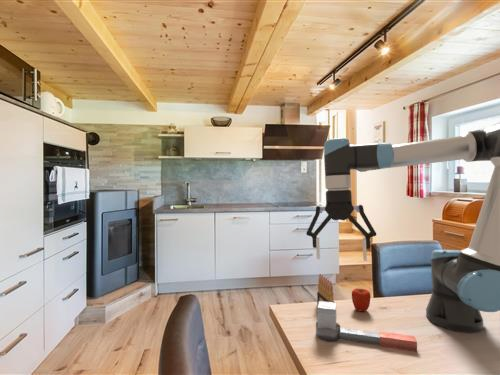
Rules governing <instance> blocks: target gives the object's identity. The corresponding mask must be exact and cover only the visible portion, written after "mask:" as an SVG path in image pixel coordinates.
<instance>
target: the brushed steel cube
mask: <svg viewBox="0 0 500 375" xmlns="http://www.w3.org/2000/svg"><path fill="white" fill-rule="evenodd" d="M317 322H318V328H320V329H327V330H334V331H336V323H337V302H334V303H332V302H323V301H319V304H318V305H317Z"/></svg>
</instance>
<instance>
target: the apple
mask: <svg viewBox="0 0 500 375" xmlns="http://www.w3.org/2000/svg"><path fill="white" fill-rule="evenodd" d="M351 291H352V292H351V300H352V304H353V306H354V309H355V311H356V312H366V311H368V309H369V307H370V304H371V292H370V290H367V289H365V288H354V289H353V290H351Z"/></svg>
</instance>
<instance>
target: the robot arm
mask: <svg viewBox="0 0 500 375" xmlns="http://www.w3.org/2000/svg"><path fill="white" fill-rule="evenodd" d="M323 156H324V157H323V159H324V161H323V162H324V182H325V189H326V192H325V202H326V203H325V206H320V205H317V206H316V207H315V214H314V216H313V218H312V220H311V223H310V225H309V226H308V228H307V230H306V232H305V233H306V234H305V235H306V236H309V237H311V238H312V248H314V249H316V259H317V260H320V258H321V251H320V250H321V249H320V247H321V246H320V236H318V235H319V234H320V233H321V231H322V230H323V229H324V228H325V227H326V226H327V224H328V223H329V222H330V221H331V220H334V221H346V220H348V221H350V223H351V224H352V225H354V227H355V228H356V229H357V230H358V231H359V232H360V233H361V234H362V235H363V236H362V239H361V240H362V257H363V258H362V259H363V261H364V262H365V261H366V262H367V261H368V257H367V256H368V255H367V250H370V249H371V238H373V237H376V236H377V232H376V231H375V229H374V227H373V225H372V224H371V222H370V220H369V219H368V217H367V215H366V213H365V211H364V206H363V205H362V204H359V205H353V200H352V198H353V197H352V190H350V189H351V188H352V176H351V174H352V173H351V170H354V171H355V170H356V171H357V172H360V173H363V172H368V171H376V170H382V169H383V170H385V169H392V168H401V167H408V166H417V165H427V164H435V163H444V162H451V161H452V162H453V161H461V160H462V161H465V162H467V163H469V162H470V163H471V162H482V161H483V162H487V161H490V163H491V164H492V165H493V167H494V169H493V170H492V171H493V172H492V175H491V177H490V181H489V183H488V185H487V186H488V187H487V190H486V193H485V196H484V199H483V202H482V205H481V208H480V211H479V214H478V218H477V220H476V223H475V226H474V229H473V233H472V235H471V239H470V242H469V245H468V247H466V248H463V249H461V250H460V249H434V250H432V252H431V258H430V264H431V266H430V267H431V295H430V298H429V300H428V303H427V305H426V309H425V316H426V318H427V320H429V321H430V322H432V323H433V324H435V325H437V326H438V327H442V328H444V329H448V330H451V331H456V332H461V333H462V332H464V333H476V332H477V333H478V332H481V331H483V330H484V327H485V326H484V318H483V315H482V313H481V312H483V313H497V312H498V311H499V312H500V122H498V123H495V124H492V125H489V126H487V127H483V128H480V129H476V130H473V131H471V130H470V131H465V132H463V133H462V134H461V135H458V136H451V137H445V138H437V139H429V140H422V141H421V140H420V141H414V142H406V143H399V144H393V145H392V143H390V142H375V143H373V142H372V143H363V144H361V143H360V144H351V143H350V140H349V138H346V137H342V138H340V137H339V138H337V137H336V138H331V139H327V140H326V141H325V142H324V146H323ZM354 210H355V211H356V212H357V213H359V215H360V217H361V218H362V221H363V222H364V223H365V225H366V227H367V229H368V231H369V232H367V230H365V228H364V227H363V226H362V225H361V224H360V223H359V222H358V221H357V220H356V219H355V218H354V217H353V215H351V214H352V213H353V212H354ZM323 211H325V213H326V214H327V216H326V217H325V219H324V220H323V221H322V222H321V223H320V224H319V226H318V227H317V228H316V230H314V232H313V229H314V227H315V225H316V223H317V221H318V219H319V217H320V215H321V214H322V213H323Z"/></svg>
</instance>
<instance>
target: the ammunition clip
mask: <svg viewBox="0 0 500 375" xmlns="http://www.w3.org/2000/svg"><path fill="white" fill-rule="evenodd" d="M317 283H318V284H317V293H316V294H317V296H316V297H317V298H316V300H317V301H316V302H317V305H316V306H318V304H319V301H323V302H332V303H335V300H334V299H335V298H334V289H333V288H334V286H333V282H332V280H331V281H330V280H329V279H328V278H326V277H325V276H324V275H323V274H322V275H321V273H319V275H318V282H317Z"/></svg>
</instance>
